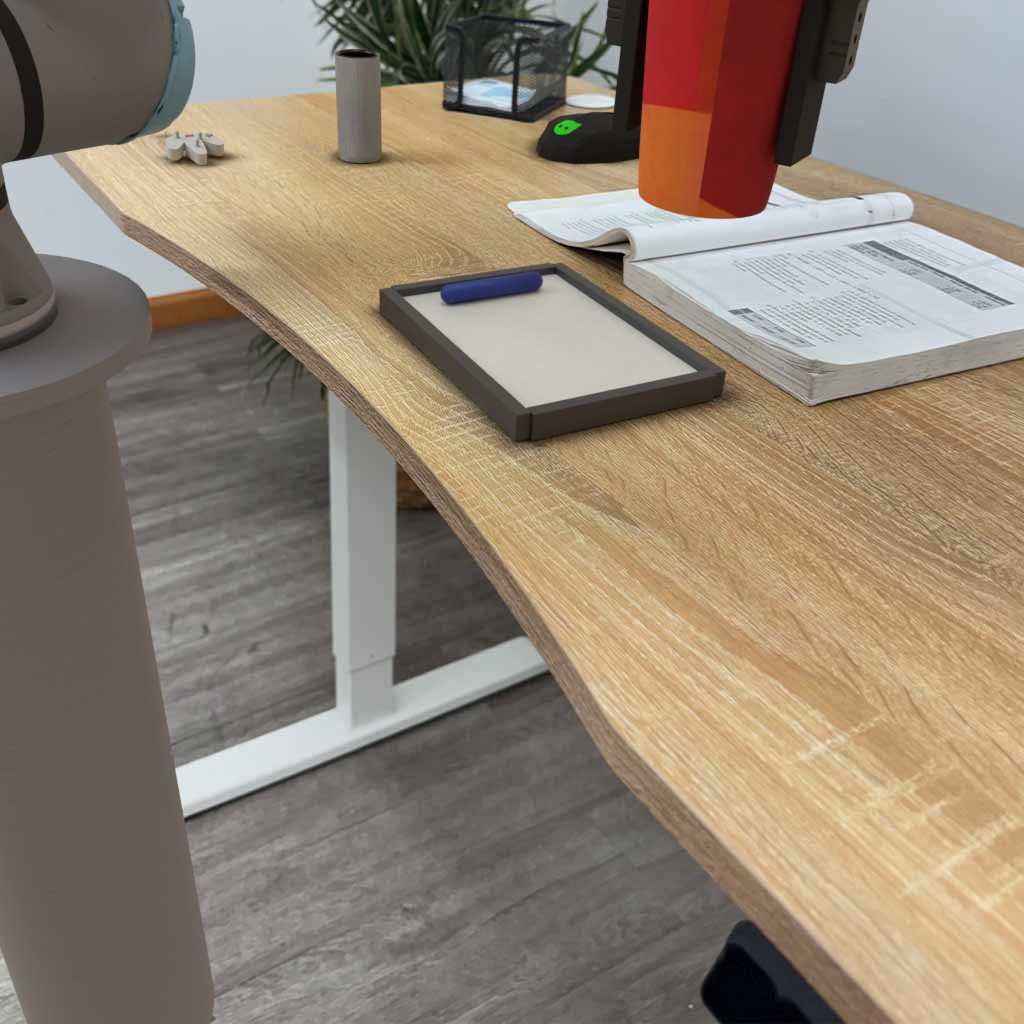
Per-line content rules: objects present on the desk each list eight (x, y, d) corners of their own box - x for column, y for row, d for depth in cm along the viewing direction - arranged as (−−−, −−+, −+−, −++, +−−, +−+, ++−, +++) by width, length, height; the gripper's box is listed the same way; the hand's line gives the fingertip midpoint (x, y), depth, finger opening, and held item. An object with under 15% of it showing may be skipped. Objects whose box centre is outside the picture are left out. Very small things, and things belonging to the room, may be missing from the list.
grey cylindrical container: (348, 165, 109) (345, 58, 104) (331, 153, 112) (327, 49, 107) (388, 161, 111) (387, 56, 106) (371, 150, 114) (369, 47, 109)
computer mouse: (508, 143, 120) (510, 106, 117) (614, 127, 128) (618, 92, 126) (574, 169, 112) (578, 130, 110) (682, 150, 121) (687, 113, 119)
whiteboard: (377, 310, 79) (377, 276, 77) (558, 282, 85) (561, 250, 84) (517, 444, 63) (520, 405, 62) (725, 397, 70) (731, 361, 68)
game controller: (187, 169, 105) (184, 142, 104) (120, 146, 111) (116, 120, 110) (234, 158, 109) (231, 132, 108) (166, 137, 115) (163, 111, 113)
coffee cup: (794, 184, 51) (870, -185, 43) (791, 238, 45) (880, -187, 36) (623, 163, 53) (665, -199, 44) (595, 212, 46) (638, -203, 38)
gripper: (1170, -570, 33) (956, 169, 46) (607, -528, 41) (558, 89, 54) (1147, -653, 28) (911, 210, 41) (505, -585, 36) (477, 115, 49)
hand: (710, 140), depth 47 cm, fingers closed on coffee cup, 7 cm apart
